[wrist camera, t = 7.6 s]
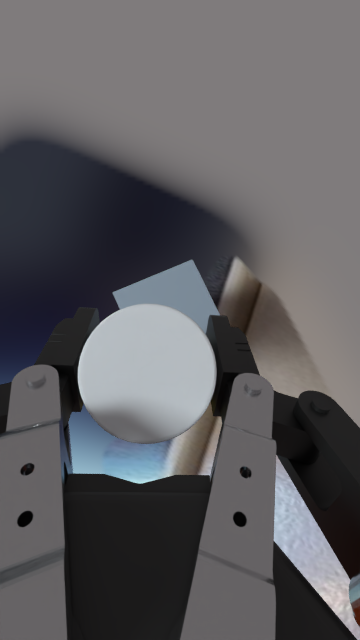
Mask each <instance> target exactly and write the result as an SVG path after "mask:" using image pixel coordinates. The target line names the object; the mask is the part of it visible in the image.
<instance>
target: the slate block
mask: <svg viewBox="0 0 360 640" xmlns="http://www.w3.org/2000/svg"><path fill="white" fill-rule="evenodd" d="M113 294H114V297H115V299H116V301H117V303H118V306H119V308H120V310H121V309H123V308H126V307H129V306H132V305H138V304H160V305H165V306H169V307H172V308H174V309H176V310H179V311H180V312H182V313H184V314H186V315H187V316H189V317H190V318H191V319H192V320H193V321H195V322H196V323H197V324H198V325H199V326H200V328H201V329H202V330H203V332H204V333H205V334H206V330H207V324H208V319H209V316H210V315H220V314H219V312H218V310H217V308H216V306H215V304H214V302H213V300H212V298H211V296H210V294H209V292H208V290H207V288H206V286H205V284H204V282H203V280H202V278H201V276H200V274H199V272H198V270H197V268H196V266H195V264H194V262H193V260H190V261H188V262H185V263H183V264H180V265H178V266H176V267H173V268H171V269H168V270H166V271H163V272H161V273H159V274H156V275H154V276H152V277H149V278H147V279H144V280H142V281H139V282H137V283H135V284H132V285H130V286H127V287H125V288H122V289H120V290H118V291H115V292H113Z"/></svg>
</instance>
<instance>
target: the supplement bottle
mask: <svg viewBox="0 0 360 640" xmlns="http://www.w3.org/2000/svg"><path fill="white" fill-rule="evenodd" d="M216 376H217V368H216V360H215V355H214V351H213V349H212V346H211V344H210V341H209V339H208V338H207V336H206V334H205V333H204V332H203V330H202V329H201V328H200V326H199V325H198V324H197V323H196V322H195V321H193V320H192V319H191V318H190V317H189V316H187V315H186V314H184V313H182V312H180V311H179V310H176V309H174V308H172V307H169V306H165V305H160V304H138V305H132V306H129V307H126V308H123V309H121V310H119V311H117V312H115V313H113V314H112V315H110V316H108V317H107V318H106V319H104V320H103V321H102V322H101V323H100V324H99V325H98V326H97V327H96V328H95V329H94V331H93V332H92V333H91V335H90V336H89V338H88V339H87V341H86V343H85V345H84V347H83V350H82V353H81V356H80V360H79V366H78V385H79V390H80V394H81V397H82V400H83V402H84V405H85V407H86V409H87V411H88V412H89V414H90V415H91V416H92V418H93V419H94V420H95V421H96V422H97V423H98V425H99V426H101V427H102V428H103V429H104V430H105V431H107V432H108V433H110V434H111V435H113V436H115V437H117V438H120V439H122V440H125V441H128V442H133V443H140V444H153V443H159V442H163V441H167V440H170V439H172V438H175V437H177V436H179V435H181V434H182V433H184V432H185V431H187V430H188V429H189V428H191V427H192V426H193V425H194V424H195V423H196V422H197V421H198V420H199V419H200V418H201V416H202V415H203V414H204V412H205V411H206V409H207V407H208V405H209V403H210V401H211V399H212V396H213V393H214V390H215V385H216Z"/></svg>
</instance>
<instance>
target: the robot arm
mask: <svg viewBox="0 0 360 640" xmlns="http://www.w3.org/2000/svg"><path fill="white" fill-rule="evenodd" d="M98 325H99V314H98V309H96V308H82V307H80V308H78V310H77V312H76V314H75V316H74V318H73V319H67V318H66V319H64V320H63V321H61V322H60V323H59V324H57V325H56V327H55V329H54V331H53V332H52V335H51V336H50V338H49V339H48V342H47V343H46V345H45V347H44V348H43V350H42V352H41V354H40V356H39V357H38V359H37V361H36V363H35V364H34V366H31V367H28V368H26V369H24V370H22V371H20V372H19V373H18V374H17V375H16V376H15V377H14V379H13V381H12V382H10V383H6V384H1V385H0V640H357V639H356V638H355V637H354V635H353V634H352V633H351V632H350V631H349V629H348V628H347V627H346V626H345V625H344V624H343V622H342V621H341V620H340V619H339V618H338V616H337V615H336V614H335V613H334V612H333V610H332V609H331V608H330V607H329V606H328V605H327V603H326V602H325V601H324V600H323V599H322V597H321V596H320V595H319V594H318V593H317V592H316V590H315V589H314V588H313V587H312V586H311V584H310V583H309V582H308V581H307V580H306V578H305V577H304V576H303V575H302V574H301V573H300V571H299V570H298V569H297V568H296V567H295V565H294V564H293V563H292V562H291V561H290V559H289V558H288V557H287V556H286V555H285V554H284V552H283V551H282V550H281V549H280V548H279V546H278V545H277V544H276V543H275V542H274V541H273V539H274V507H275V475H276V455H277V456H278V458H279V460H280V461H281V463H282V465H283V466H284V468H285V470H286V472H287V473H288V475H289V477H290V478H291V480H292V482H293V483H294V485H295V487H296V488H297V490H298V492H299V494H300V495H301V497H302V499H303V500H304V502H305V504H306V505H307V507H308V509H309V510H310V512H311V514H312V516H313V517H314V519H315V521H316V522H317V524H318V526H319V527H320V529H321V531H322V533H323V534H324V536H325V538H326V539H327V541H328V543H329V544H330V546H331V548H332V549H333V551H334V553H335V555H336V556H337V558H338V560H339V561H340V563H341V565H342V566H343V568H344V570H345V571H346V573H347V575H348V577H349V578H350V580H351V581H350V584H349V599H350V603H351V606H352V609H353V615H354V618H355V620H356V622H357V624H358V625H359V627H360V428H359V427H358V426H357V425H356V423H354V421H353V420H352V419H351V418H350V417H349V416H348V415H347V414H346V413H345V411H344V410H343V409H342V408H341V407H340V406H339V405H338V404H337V403H336V402H335V401H334V400H333V399H332V398H331V397H329V396H327V395H325V394H323V393H321V392H317V391H305V392H303V393H301V394H300V396H299V398H295V397H291V396H288V395H284V394H281V393H278V392H276V391H274V390H273V387H272V385H271V384H270V383H269V382H268V381H267V380H266V379H265V378H263V377H262V376H260V374H259V371H258V369H257V366H256V363H255V360H254V358H253V355H252V352H251V349H250V347H249V345H248V341H247V338H246V336H245V334H244V333H243V332H242V331H241V330H240V329H239V328H235V327H230V324H229V321H228V318H227V316H221V315H210V316H209V319H208V324H207V330H206V336H207V338H208V339H209V341H210V344H211V346H212V349H213V351H214V355H215V360H216V368H217V376H216V385H215V390H214V393H213V396H212V399H211V405H212V412H213V416H221V418H222V427H221V431H220V435H219V439H218V444H217V448H216V453H215V457H214V462H213V466H212V471H211V475H210V476H209V475H174V476H170V477H166V478H162V479H158V480H155V481H151V482H147V483H143V484H137V483H133V482H130V481H126V480H123V479H120V478H116V477H113V476H109V475H106V474H73V469H72V457H71V445H70V434H69V433H70V432H69V424H68V421H69V418H70V415H71V412H81V410H82V406H83V403H84V402H83V400H82V397H81V394H80V390H79V385H78V366H79V360H80V356H81V353H82V350H83V347H84V345H85V343H86V341H87V339H88V338H89V336H90V335H91V333H92V332H93V331H94V329H95V328H96V327H97V326H98Z"/></svg>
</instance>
